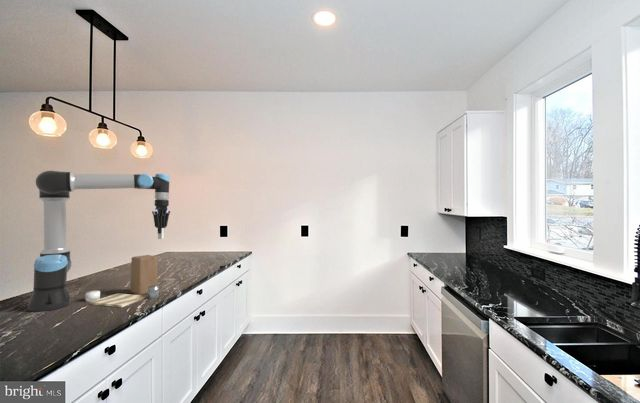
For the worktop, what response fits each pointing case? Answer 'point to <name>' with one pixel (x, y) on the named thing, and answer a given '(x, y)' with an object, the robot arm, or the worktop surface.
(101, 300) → the board
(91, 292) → the white rounded lump
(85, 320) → the worktop surface
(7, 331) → the worktop surface
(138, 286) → the wooden block
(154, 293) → the grey ball
